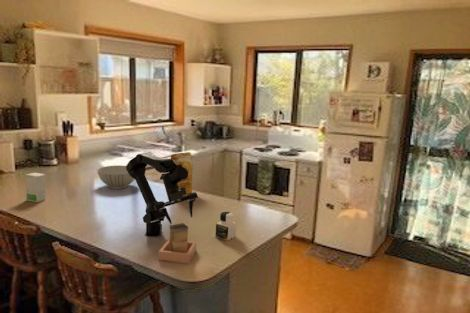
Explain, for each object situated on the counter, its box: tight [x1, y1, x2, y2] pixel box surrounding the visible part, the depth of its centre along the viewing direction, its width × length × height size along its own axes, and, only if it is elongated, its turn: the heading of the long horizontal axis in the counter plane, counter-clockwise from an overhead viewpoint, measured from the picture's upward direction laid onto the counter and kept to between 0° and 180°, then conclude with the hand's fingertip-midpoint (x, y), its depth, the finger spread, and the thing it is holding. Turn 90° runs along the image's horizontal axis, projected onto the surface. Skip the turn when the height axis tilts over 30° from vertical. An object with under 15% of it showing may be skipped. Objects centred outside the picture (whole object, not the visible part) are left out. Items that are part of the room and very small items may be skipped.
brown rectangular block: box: [168, 222, 189, 253], centre depth 150 cm, size 5×6×12 cm
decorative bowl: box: [96, 164, 135, 190], centre depth 246 cm, size 27×27×12 cm
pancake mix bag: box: [170, 151, 194, 197], centre depth 234 cm, size 7×19×28 cm, turn 136°
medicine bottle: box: [215, 211, 237, 241], centre depth 173 cm, size 7×7×12 cm
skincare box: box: [25, 172, 46, 203], centre depth 209 cm, size 8×7×16 cm
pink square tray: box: [158, 238, 197, 265], centre depth 151 cm, size 12×12×4 cm
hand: (181, 220), depth 156 cm, fingers open, 9 cm apart
